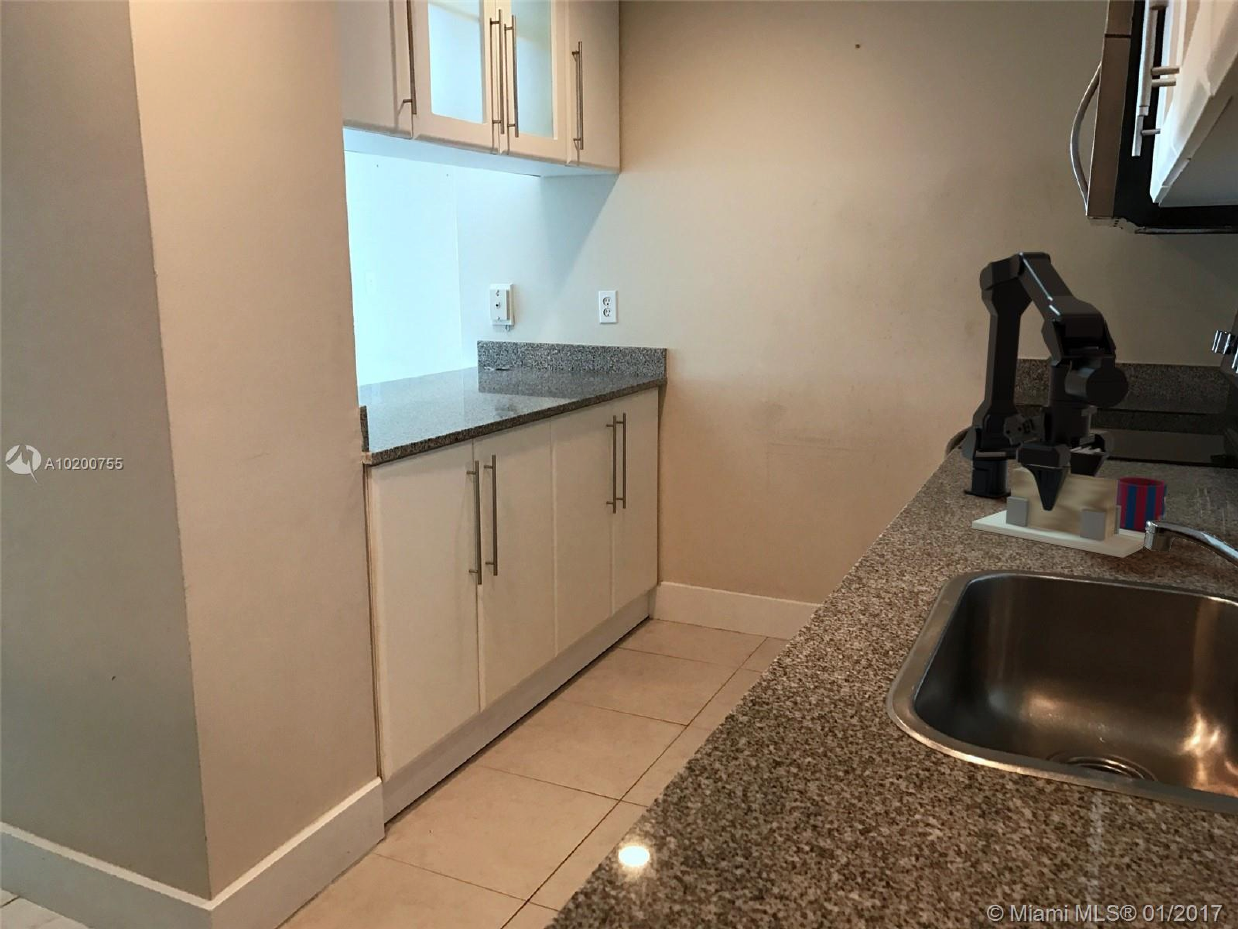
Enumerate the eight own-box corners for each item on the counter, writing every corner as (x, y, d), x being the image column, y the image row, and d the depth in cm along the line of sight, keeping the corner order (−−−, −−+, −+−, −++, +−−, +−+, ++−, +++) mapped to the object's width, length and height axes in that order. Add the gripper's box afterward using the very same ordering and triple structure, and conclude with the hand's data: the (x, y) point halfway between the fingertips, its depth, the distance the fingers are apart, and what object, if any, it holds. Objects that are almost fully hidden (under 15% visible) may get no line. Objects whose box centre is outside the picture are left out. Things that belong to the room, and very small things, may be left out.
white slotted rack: (1007, 515, 153) (1009, 484, 152) (1155, 541, 136) (1158, 507, 135) (971, 528, 146) (973, 496, 145) (1123, 557, 129) (1125, 521, 128)
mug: (1159, 533, 141) (1163, 488, 139) (1085, 524, 147) (1088, 480, 145) (1166, 523, 146) (1170, 480, 145) (1095, 515, 152) (1098, 473, 151)
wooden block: (1116, 534, 137) (1120, 479, 136) (1104, 539, 135) (1109, 483, 133) (1021, 517, 148) (1024, 466, 146) (1009, 521, 145) (1012, 469, 144)
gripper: (1045, 388, 149) (1038, 486, 152) (983, 400, 137) (978, 506, 140) (1119, 394, 141) (1111, 497, 144) (1061, 407, 129) (1053, 520, 132)
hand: (1062, 505), depth 140 cm, fingers open, 9 cm apart
